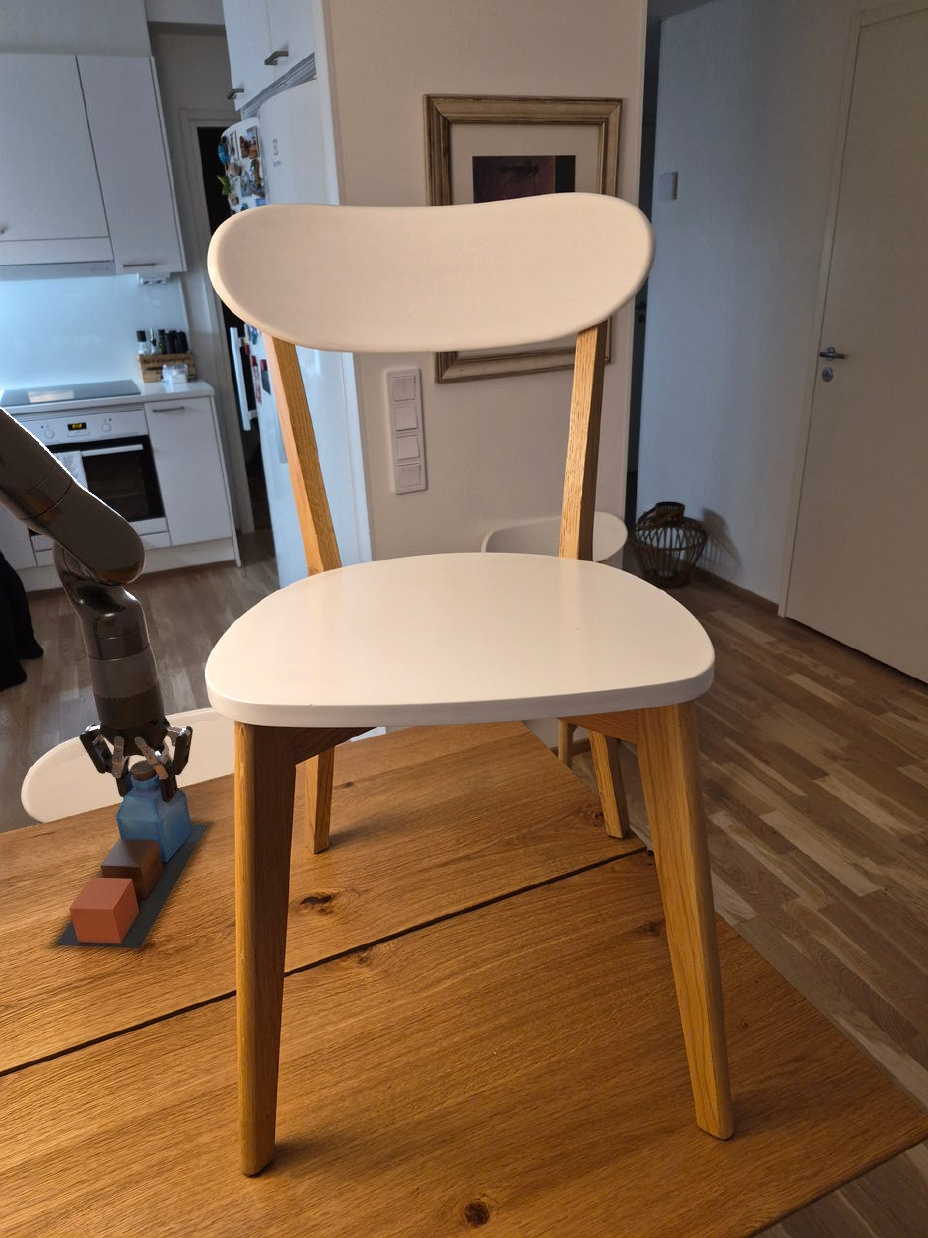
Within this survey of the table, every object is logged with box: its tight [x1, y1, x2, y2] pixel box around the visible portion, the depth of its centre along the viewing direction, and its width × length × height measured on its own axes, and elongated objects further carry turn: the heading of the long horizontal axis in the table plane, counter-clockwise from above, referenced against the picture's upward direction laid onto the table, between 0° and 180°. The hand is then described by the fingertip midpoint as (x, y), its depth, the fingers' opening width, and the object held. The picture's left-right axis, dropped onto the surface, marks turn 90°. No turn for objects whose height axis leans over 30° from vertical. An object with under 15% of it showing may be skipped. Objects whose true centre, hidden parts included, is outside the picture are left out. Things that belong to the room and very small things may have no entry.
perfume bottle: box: [115, 759, 193, 862], centre depth 106 cm, size 6×6×12 cm
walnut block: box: [100, 838, 164, 899], centre depth 101 cm, size 5×5×5 cm
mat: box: [55, 824, 208, 949], centre depth 102 cm, size 10×22×6 cm, turn 176°
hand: (149, 797), depth 106 cm, fingers closed on perfume bottle, 4 cm apart
